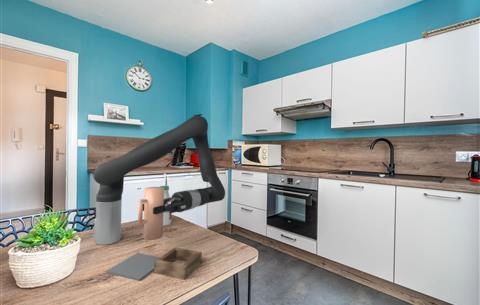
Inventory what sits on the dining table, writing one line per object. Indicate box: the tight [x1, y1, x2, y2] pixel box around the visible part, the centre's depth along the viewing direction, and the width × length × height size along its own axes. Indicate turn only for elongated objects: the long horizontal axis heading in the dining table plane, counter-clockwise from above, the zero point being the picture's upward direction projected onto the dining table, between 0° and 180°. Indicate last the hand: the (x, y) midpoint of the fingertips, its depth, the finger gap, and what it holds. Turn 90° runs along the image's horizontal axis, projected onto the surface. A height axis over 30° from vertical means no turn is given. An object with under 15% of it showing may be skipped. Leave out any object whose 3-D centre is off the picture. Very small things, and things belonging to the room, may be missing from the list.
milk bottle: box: [159, 185, 173, 227], centre depth 114 cm, size 8×8×20 cm
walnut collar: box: [153, 247, 203, 280], centre depth 71 cm, size 11×11×4 cm
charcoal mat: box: [105, 252, 160, 282], centre depth 72 cm, size 13×13×1 cm
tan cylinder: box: [137, 186, 164, 241], centre depth 70 cm, size 8×6×16 cm
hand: (147, 209), depth 69 cm, fingers closed on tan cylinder, 6 cm apart
